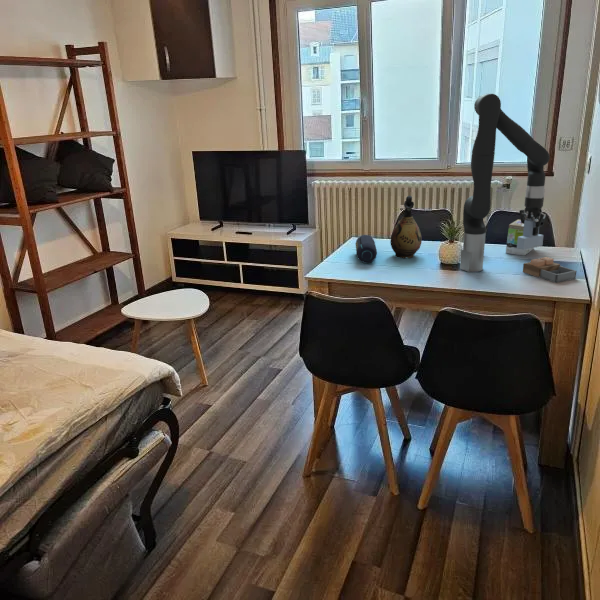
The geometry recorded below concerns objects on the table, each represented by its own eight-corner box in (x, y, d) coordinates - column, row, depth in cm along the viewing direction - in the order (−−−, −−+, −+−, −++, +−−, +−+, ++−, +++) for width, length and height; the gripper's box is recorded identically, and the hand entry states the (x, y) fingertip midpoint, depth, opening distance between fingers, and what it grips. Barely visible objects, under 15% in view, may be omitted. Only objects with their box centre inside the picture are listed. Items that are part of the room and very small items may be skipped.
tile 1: (537, 266, 230) (538, 262, 229) (530, 264, 233) (530, 259, 233) (544, 265, 231) (545, 260, 231) (537, 262, 235) (537, 258, 234)
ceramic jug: (421, 260, 260) (424, 199, 250) (390, 260, 263) (391, 199, 252) (420, 251, 276) (422, 193, 265) (390, 251, 278) (391, 193, 268)
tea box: (525, 256, 259) (529, 226, 254) (505, 253, 265) (507, 224, 260) (534, 248, 270) (537, 220, 265) (514, 246, 276) (517, 218, 271)
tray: (556, 282, 221) (557, 274, 220) (540, 277, 228) (541, 269, 227) (575, 278, 225) (576, 270, 224) (559, 273, 232) (560, 265, 231)
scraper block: (523, 249, 235) (526, 223, 230) (516, 247, 238) (519, 221, 234) (542, 245, 238) (545, 219, 234) (535, 244, 242) (538, 218, 238)
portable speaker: (355, 251, 281) (355, 233, 277) (374, 251, 280) (374, 232, 276) (356, 265, 257) (356, 245, 254) (377, 264, 257) (377, 245, 253)
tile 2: (546, 264, 232) (546, 260, 231) (539, 262, 235) (539, 258, 234) (553, 263, 233) (553, 259, 232) (545, 261, 236) (546, 256, 236)
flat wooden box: (538, 277, 229) (539, 268, 227) (522, 271, 236) (523, 263, 235) (559, 273, 233) (560, 264, 231) (543, 267, 241) (544, 259, 239)
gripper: (515, 194, 235) (512, 232, 241) (540, 199, 223) (536, 238, 229) (528, 192, 238) (525, 230, 244) (554, 197, 225) (549, 236, 231)
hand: (530, 234), depth 236 cm, fingers closed on scraper block, 4 cm apart
